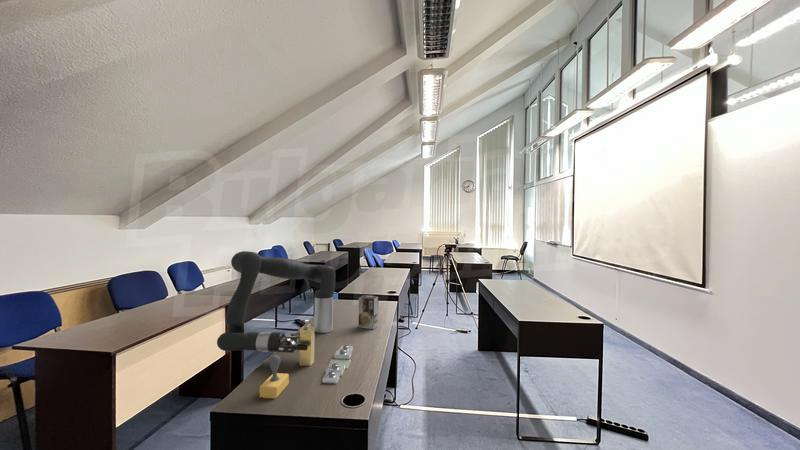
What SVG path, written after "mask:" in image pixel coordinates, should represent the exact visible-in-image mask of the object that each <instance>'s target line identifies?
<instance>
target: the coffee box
mask: <svg viewBox="0 0 800 450" xmlns="http://www.w3.org/2000/svg"><path fill="white" fill-rule="evenodd" d="M377 327H379V295H378V296H377V295H369V294H368V295H367V294H363V295H361V296H359V297H358V328H363V329H368V330H369V329H370V330H375V329H376V328H377Z"/></svg>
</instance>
